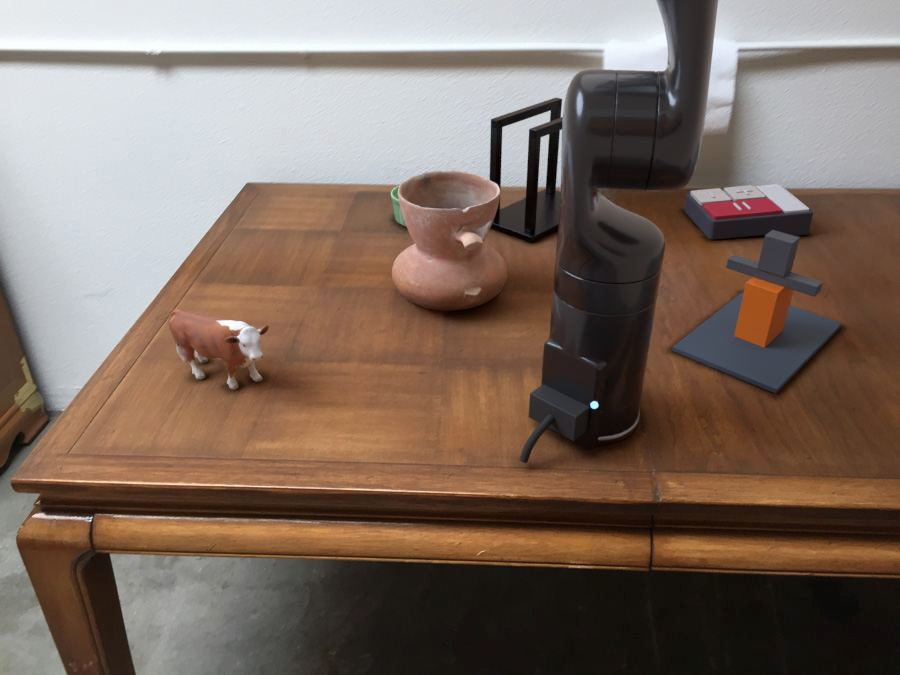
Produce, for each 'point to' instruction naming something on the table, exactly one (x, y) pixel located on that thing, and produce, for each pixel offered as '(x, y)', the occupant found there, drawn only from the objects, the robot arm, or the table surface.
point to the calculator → (747, 211)
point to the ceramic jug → (449, 241)
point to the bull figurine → (216, 342)
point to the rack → (530, 175)
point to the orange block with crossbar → (769, 288)
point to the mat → (750, 360)
